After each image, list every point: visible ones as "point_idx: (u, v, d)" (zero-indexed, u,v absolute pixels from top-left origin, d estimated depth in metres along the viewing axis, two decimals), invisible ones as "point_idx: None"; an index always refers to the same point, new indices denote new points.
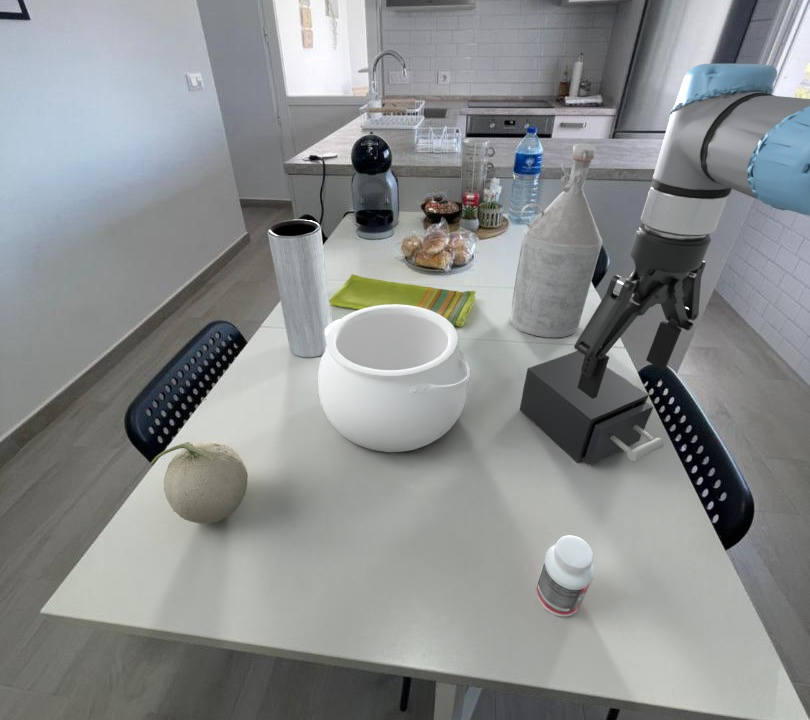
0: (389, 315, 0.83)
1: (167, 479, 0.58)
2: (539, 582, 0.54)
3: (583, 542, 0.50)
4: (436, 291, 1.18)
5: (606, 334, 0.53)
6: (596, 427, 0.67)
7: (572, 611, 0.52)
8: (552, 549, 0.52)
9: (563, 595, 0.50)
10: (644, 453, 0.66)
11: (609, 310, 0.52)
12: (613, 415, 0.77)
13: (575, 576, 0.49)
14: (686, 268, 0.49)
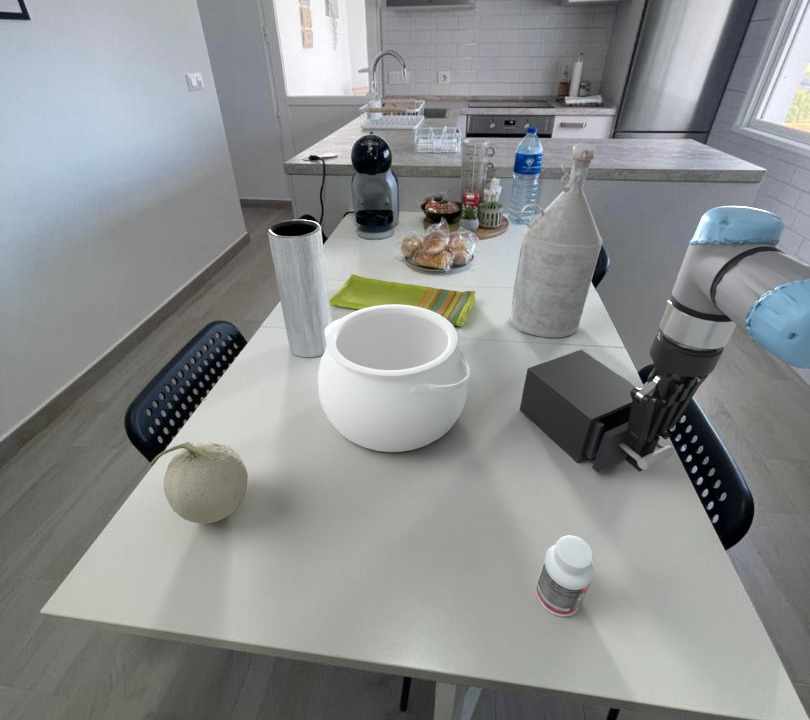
0: (389, 315, 0.83)
1: (167, 479, 0.58)
2: (539, 582, 0.54)
3: (583, 542, 0.50)
4: (436, 291, 1.18)
5: (647, 426, 0.61)
6: (605, 435, 0.66)
7: (572, 611, 0.52)
8: (552, 549, 0.52)
9: (563, 595, 0.50)
10: (655, 461, 0.65)
11: (640, 413, 0.60)
12: (621, 421, 0.75)
13: (575, 576, 0.49)
14: (701, 374, 0.55)
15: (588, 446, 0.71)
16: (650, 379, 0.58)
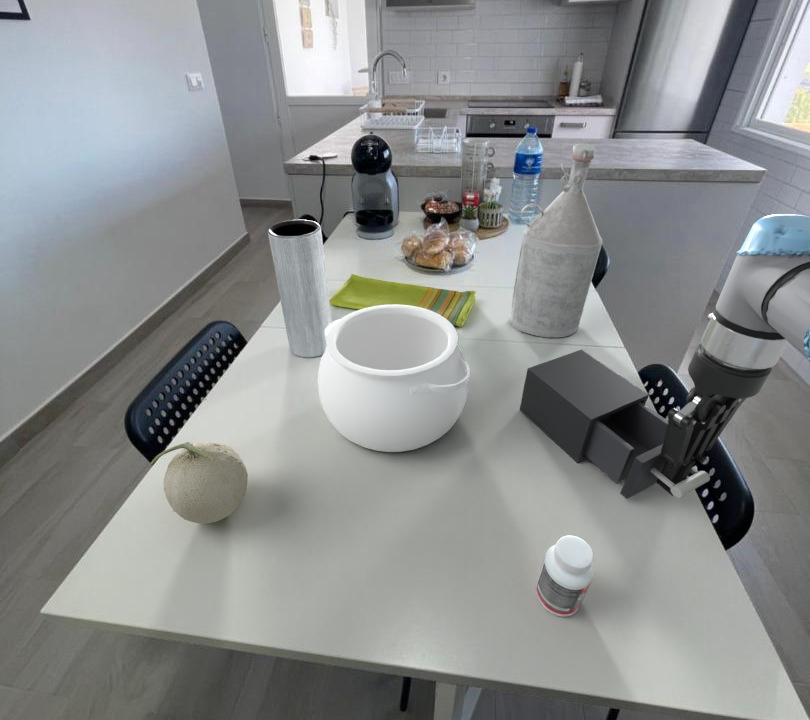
0: (389, 315, 0.83)
1: (167, 479, 0.58)
2: (539, 582, 0.54)
3: (583, 542, 0.50)
4: (436, 291, 1.18)
5: (684, 450, 0.57)
6: (636, 460, 0.62)
7: (572, 611, 0.52)
8: (552, 549, 0.52)
9: (563, 595, 0.50)
10: (690, 489, 0.61)
11: (677, 436, 0.56)
12: (649, 443, 0.71)
13: (575, 576, 0.49)
14: (747, 395, 0.50)
15: (616, 470, 0.67)
16: (689, 400, 0.54)
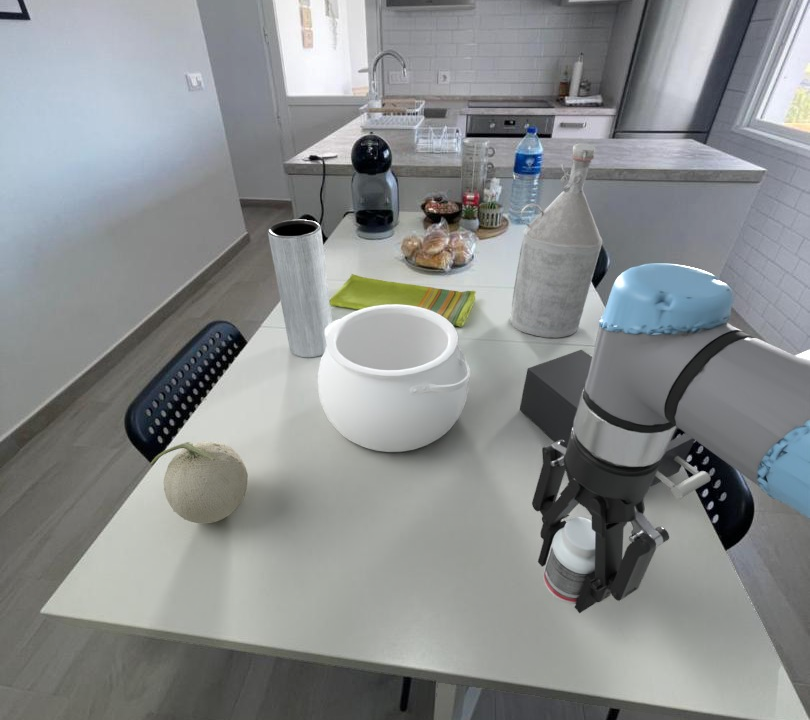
0: (389, 315, 0.83)
1: (167, 479, 0.58)
2: (547, 568, 0.51)
3: None
4: (436, 291, 1.18)
5: (541, 492, 0.50)
6: None
7: None
8: (560, 532, 0.50)
9: (572, 580, 0.48)
10: (690, 489, 0.60)
11: None
12: None
13: (584, 559, 0.47)
14: (569, 468, 0.41)
15: None
16: None
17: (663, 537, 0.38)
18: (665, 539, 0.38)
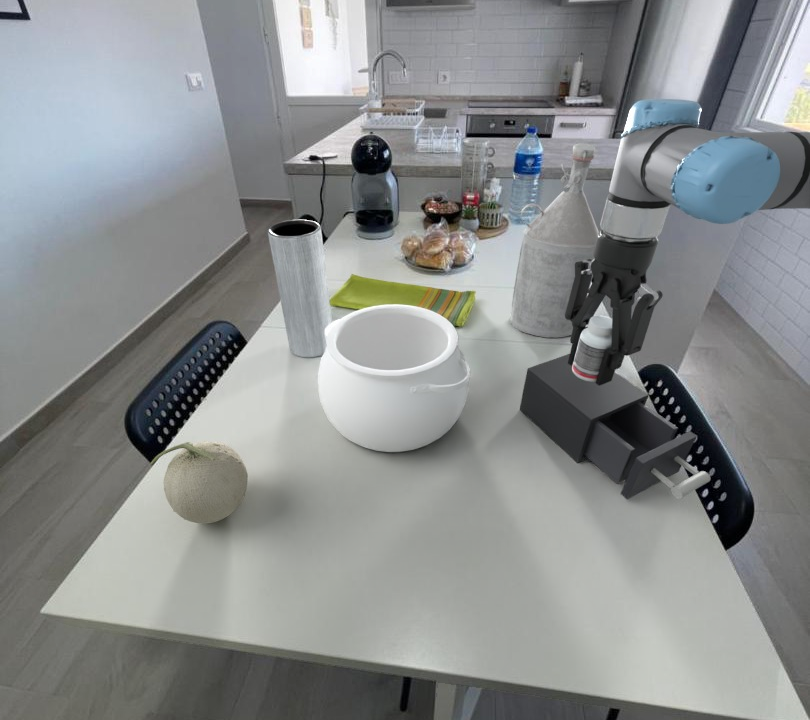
0: (389, 315, 0.83)
1: (167, 479, 0.58)
2: (575, 358, 0.72)
3: (609, 318, 0.68)
4: (436, 291, 1.18)
5: (572, 301, 0.71)
6: (637, 460, 0.62)
7: None
8: (586, 329, 0.70)
9: (595, 357, 0.68)
10: (690, 489, 0.60)
11: None
12: (650, 443, 0.71)
13: (603, 339, 0.67)
14: (597, 257, 0.61)
15: (616, 470, 0.67)
16: None
17: (658, 294, 0.59)
18: (660, 295, 0.59)
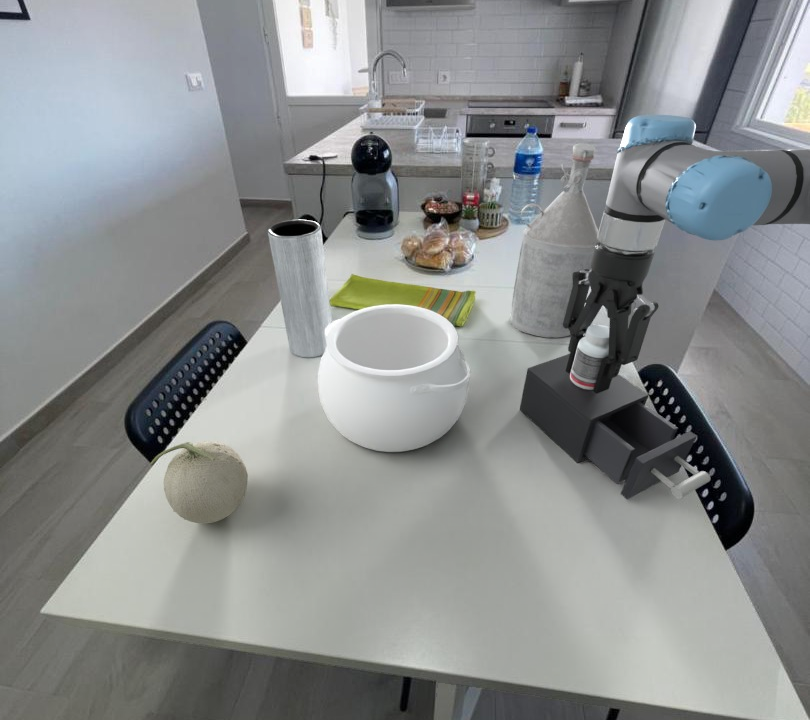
0: (389, 315, 0.83)
1: (167, 479, 0.58)
2: (573, 367, 0.73)
3: (606, 327, 0.69)
4: (436, 291, 1.18)
5: (570, 310, 0.72)
6: (637, 460, 0.62)
7: None
8: (583, 337, 0.71)
9: (592, 365, 0.69)
10: (690, 489, 0.60)
11: None
12: (650, 443, 0.71)
13: (601, 348, 0.68)
14: (594, 268, 0.62)
15: (616, 470, 0.67)
16: None
17: (654, 305, 0.60)
18: (656, 307, 0.60)
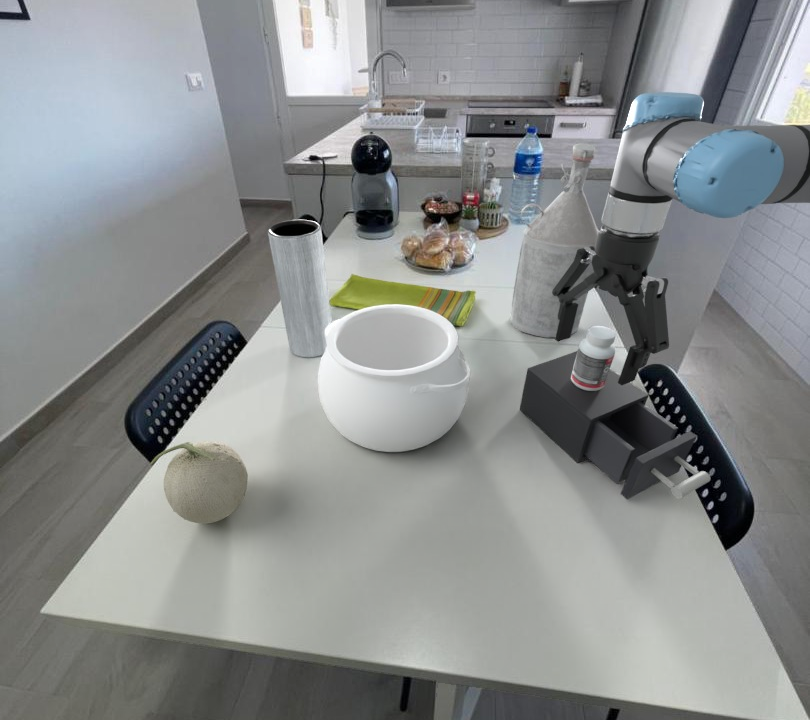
0: (389, 315, 0.83)
1: (167, 479, 0.58)
2: (574, 368, 0.73)
3: (608, 328, 0.69)
4: (436, 291, 1.18)
5: (563, 282, 0.71)
6: (637, 460, 0.62)
7: (599, 385, 0.71)
8: (584, 338, 0.71)
9: (593, 367, 0.69)
10: (690, 489, 0.60)
11: None
12: (650, 443, 0.71)
13: (602, 349, 0.68)
14: (598, 252, 0.61)
15: (616, 470, 0.67)
16: None
17: (663, 279, 0.58)
18: (665, 281, 0.58)
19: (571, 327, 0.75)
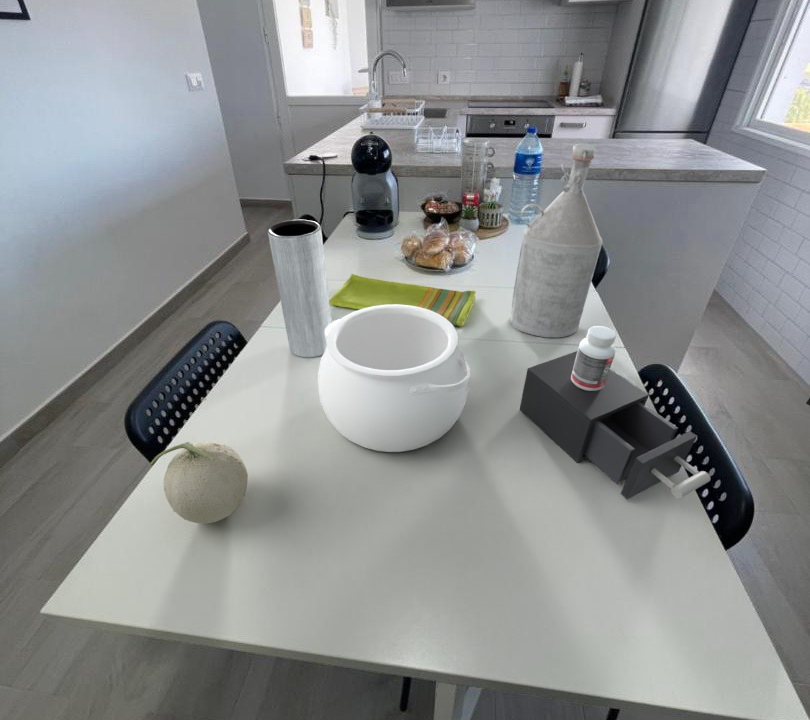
0: (389, 315, 0.83)
1: (167, 479, 0.58)
2: (574, 368, 0.73)
3: (608, 328, 0.69)
4: (436, 291, 1.18)
5: None
6: (637, 460, 0.62)
7: (599, 385, 0.71)
8: (585, 338, 0.71)
9: (593, 367, 0.69)
10: (690, 489, 0.60)
11: None
12: (650, 443, 0.71)
13: (602, 349, 0.68)
14: None
15: (616, 470, 0.67)
16: None
17: None
18: None
19: None
